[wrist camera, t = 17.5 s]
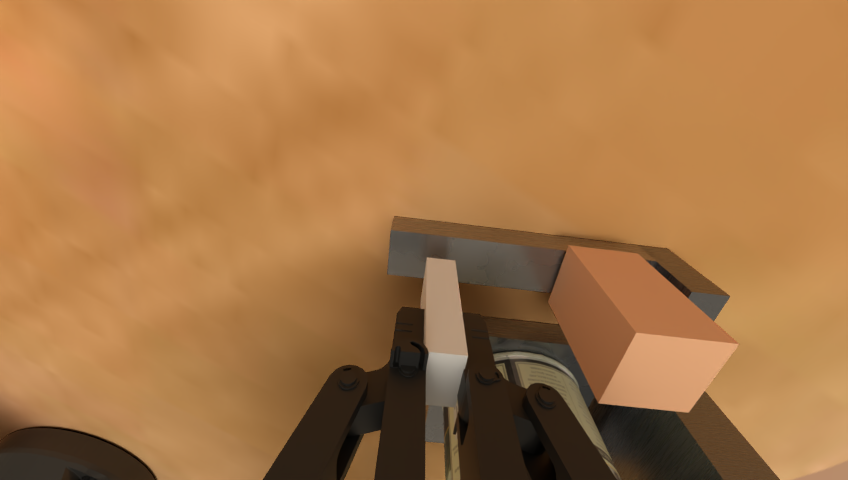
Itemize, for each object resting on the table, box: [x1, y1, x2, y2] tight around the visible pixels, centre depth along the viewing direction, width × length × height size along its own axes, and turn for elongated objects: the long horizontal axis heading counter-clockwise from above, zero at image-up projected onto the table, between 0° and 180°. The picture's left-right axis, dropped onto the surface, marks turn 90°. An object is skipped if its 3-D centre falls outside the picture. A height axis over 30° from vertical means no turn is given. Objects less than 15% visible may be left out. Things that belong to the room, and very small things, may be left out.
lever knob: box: [548, 245, 739, 413], centre depth 17 cm, size 4×4×7 cm
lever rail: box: [387, 216, 730, 321], centre depth 19 cm, size 18×3×5 cm, turn 83°
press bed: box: [425, 316, 780, 480], centre depth 21 cm, size 16×12×14 cm
